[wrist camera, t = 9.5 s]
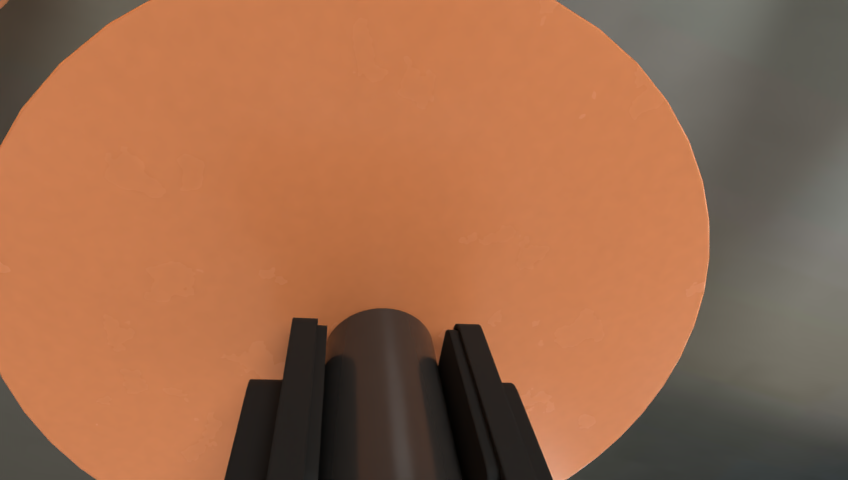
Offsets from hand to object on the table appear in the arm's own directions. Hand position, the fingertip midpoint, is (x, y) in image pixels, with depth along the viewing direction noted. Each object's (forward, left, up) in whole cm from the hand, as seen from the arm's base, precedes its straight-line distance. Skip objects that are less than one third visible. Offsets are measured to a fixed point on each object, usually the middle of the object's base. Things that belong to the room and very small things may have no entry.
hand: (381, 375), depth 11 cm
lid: (0, 0, -1) cm, 1 cm away
